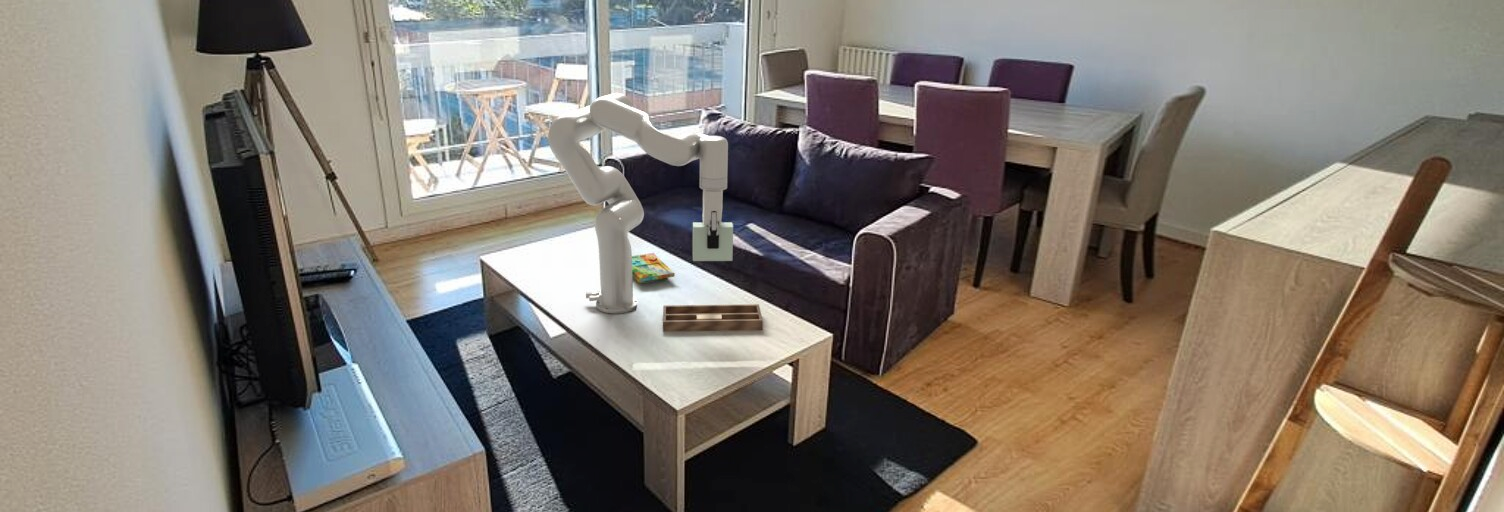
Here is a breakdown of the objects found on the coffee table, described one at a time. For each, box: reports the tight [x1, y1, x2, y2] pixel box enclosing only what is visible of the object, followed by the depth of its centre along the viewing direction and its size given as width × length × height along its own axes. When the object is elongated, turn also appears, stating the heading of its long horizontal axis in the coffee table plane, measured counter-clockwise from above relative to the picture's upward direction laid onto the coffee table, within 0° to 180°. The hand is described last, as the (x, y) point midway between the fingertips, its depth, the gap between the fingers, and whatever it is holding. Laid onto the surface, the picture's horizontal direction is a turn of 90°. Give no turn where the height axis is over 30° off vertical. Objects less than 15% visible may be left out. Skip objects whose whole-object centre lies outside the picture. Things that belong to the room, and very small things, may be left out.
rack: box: [662, 303, 764, 333], centre depth 225 cm, size 28×11×4 cm, turn 95°
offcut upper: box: [697, 314, 722, 320], centre depth 221 cm, size 7×3×2 cm, turn 95°
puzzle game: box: [632, 252, 676, 284], centre depth 259 cm, size 12×5×20 cm
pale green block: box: [692, 221, 734, 262], centre depth 218 cm, size 11×4×10 cm, turn 95°
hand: (712, 244), depth 219 cm, fingers closed on pale green block, 4 cm apart
